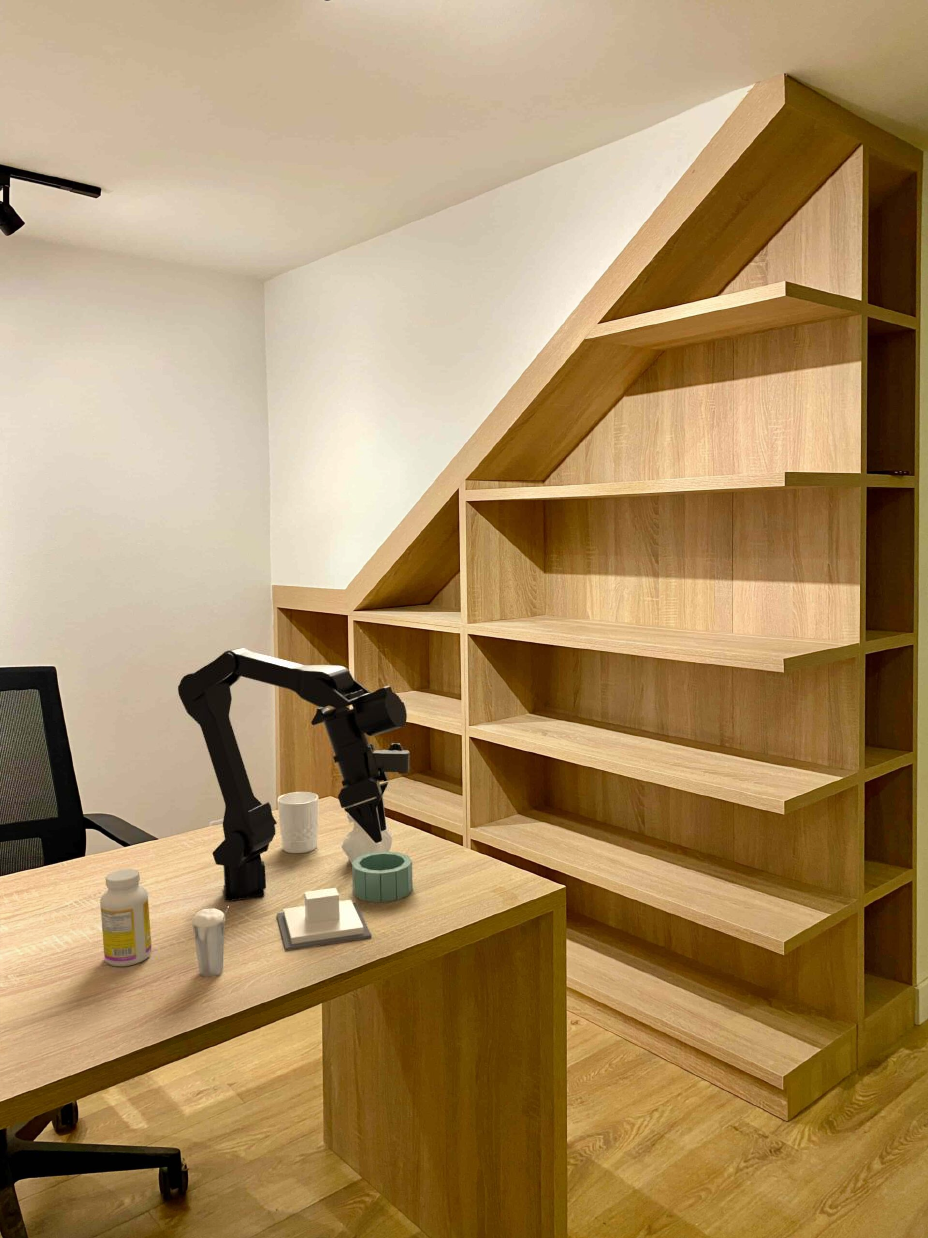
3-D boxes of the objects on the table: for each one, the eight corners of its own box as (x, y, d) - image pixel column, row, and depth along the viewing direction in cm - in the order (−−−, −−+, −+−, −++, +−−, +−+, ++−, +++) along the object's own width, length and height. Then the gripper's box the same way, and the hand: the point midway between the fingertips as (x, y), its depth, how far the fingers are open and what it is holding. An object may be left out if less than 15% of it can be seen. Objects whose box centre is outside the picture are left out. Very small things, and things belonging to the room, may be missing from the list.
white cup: (328, 844, 186) (326, 795, 185) (301, 857, 180) (299, 806, 178) (298, 838, 190) (296, 789, 189) (270, 850, 184) (268, 800, 183)
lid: (291, 944, 143) (290, 912, 142) (283, 915, 153) (282, 885, 153) (363, 933, 146) (362, 902, 145) (351, 905, 156) (350, 876, 156)
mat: (285, 950, 141) (285, 948, 141) (276, 915, 154) (276, 913, 154) (371, 937, 145) (371, 935, 145) (356, 904, 158) (355, 902, 158)
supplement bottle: (136, 943, 145) (131, 862, 143) (160, 955, 141) (155, 872, 139) (95, 960, 140) (89, 876, 138) (119, 973, 136) (114, 887, 134)
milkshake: (224, 982, 132) (220, 913, 131) (189, 979, 133) (185, 911, 132) (238, 966, 137) (235, 900, 136) (204, 963, 138) (200, 897, 137)
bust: (387, 859, 184) (360, 808, 187) (409, 843, 179) (381, 791, 183) (342, 879, 174) (314, 825, 178) (365, 862, 170) (336, 807, 173)
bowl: (359, 905, 157) (358, 876, 157) (349, 883, 167) (348, 855, 166) (417, 897, 160) (417, 868, 160) (404, 875, 170) (403, 848, 169)
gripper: (393, 732, 142) (427, 831, 142) (400, 722, 161) (430, 809, 161) (323, 756, 142) (356, 855, 142) (338, 743, 161) (368, 831, 160)
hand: (381, 836), depth 151 cm, fingers open, 9 cm apart
